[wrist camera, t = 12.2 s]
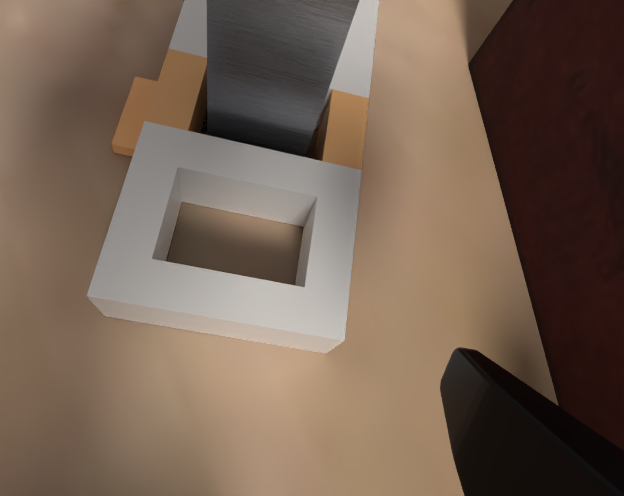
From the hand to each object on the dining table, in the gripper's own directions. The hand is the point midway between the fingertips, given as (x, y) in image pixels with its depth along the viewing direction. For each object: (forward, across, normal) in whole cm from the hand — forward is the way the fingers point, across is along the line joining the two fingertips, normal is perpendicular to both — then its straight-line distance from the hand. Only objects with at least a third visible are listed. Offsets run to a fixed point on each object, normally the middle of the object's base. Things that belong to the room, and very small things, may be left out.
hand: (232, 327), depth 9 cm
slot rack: (+19, 0, 0) cm, 19 cm away
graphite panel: (+19, 0, 0) cm, 19 cm away
